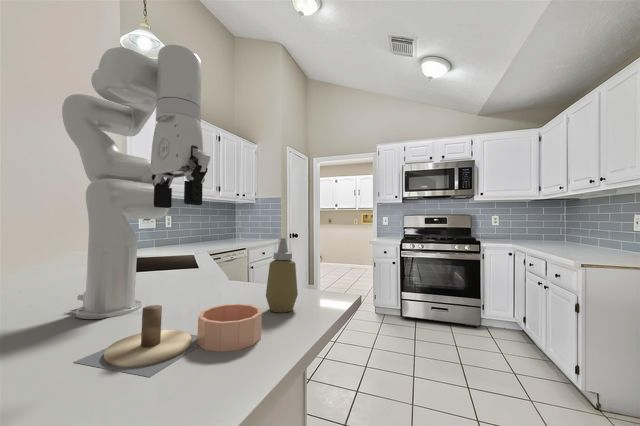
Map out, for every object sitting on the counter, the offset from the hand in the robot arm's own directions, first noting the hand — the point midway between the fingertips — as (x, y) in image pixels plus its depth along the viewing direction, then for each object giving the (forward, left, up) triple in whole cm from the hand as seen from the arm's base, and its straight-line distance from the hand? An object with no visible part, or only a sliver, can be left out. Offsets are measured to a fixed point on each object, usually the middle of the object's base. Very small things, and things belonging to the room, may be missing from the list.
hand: (177, 206), depth 52 cm
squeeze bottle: (+12, +24, -25) cm, 36 cm away
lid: (0, -4, -24) cm, 25 cm away
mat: (0, -4, -25) cm, 25 cm away
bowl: (+10, +4, -25) cm, 27 cm away
